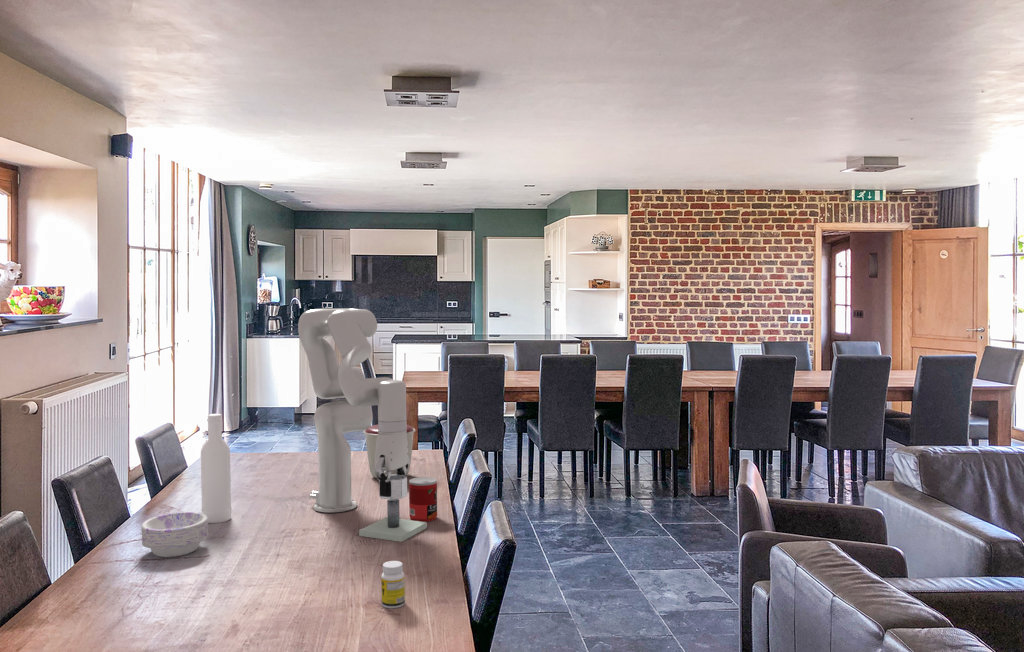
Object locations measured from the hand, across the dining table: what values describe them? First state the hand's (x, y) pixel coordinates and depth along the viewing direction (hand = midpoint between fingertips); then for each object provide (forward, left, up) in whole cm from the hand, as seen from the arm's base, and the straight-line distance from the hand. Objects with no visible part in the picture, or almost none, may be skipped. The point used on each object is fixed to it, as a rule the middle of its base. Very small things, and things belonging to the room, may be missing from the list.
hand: (393, 492), depth 206 cm
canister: (-35, +54, -11) cm, 65 cm away
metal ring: (0, 0, -1) cm, 1 cm away
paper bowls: (-42, -34, -11) cm, 55 cm away
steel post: (0, 0, -9) cm, 9 cm away
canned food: (+1, +14, -11) cm, 18 cm away
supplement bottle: (+26, -42, -11) cm, 51 cm away
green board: (0, 0, -11) cm, 11 cm away
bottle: (-53, -9, -11) cm, 55 cm away
